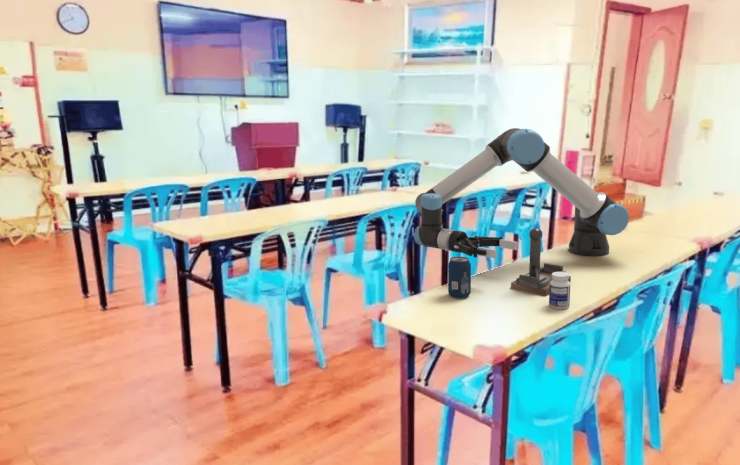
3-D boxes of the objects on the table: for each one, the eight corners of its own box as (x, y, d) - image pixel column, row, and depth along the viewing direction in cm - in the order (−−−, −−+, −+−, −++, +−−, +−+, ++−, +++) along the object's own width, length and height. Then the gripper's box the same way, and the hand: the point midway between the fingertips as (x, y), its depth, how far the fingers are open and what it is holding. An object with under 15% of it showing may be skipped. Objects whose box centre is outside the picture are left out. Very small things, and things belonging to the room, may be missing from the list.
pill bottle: (554, 301, 167) (556, 269, 165) (572, 306, 163) (574, 273, 161) (545, 306, 163) (546, 274, 161) (563, 311, 159) (565, 278, 157)
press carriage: (529, 279, 182) (531, 225, 178) (545, 282, 178) (548, 227, 174) (522, 283, 178) (524, 228, 174) (538, 286, 174) (540, 230, 171)
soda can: (454, 290, 179) (454, 254, 177) (474, 294, 175) (474, 257, 173) (444, 297, 174) (444, 260, 171) (464, 300, 170) (464, 263, 167)
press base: (535, 275, 193) (536, 261, 192) (572, 282, 184) (572, 267, 183) (509, 288, 180) (509, 273, 179) (547, 296, 171) (547, 280, 170)
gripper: (472, 244, 206) (524, 253, 192) (431, 258, 189) (486, 269, 175) (472, 224, 205) (525, 232, 191) (432, 236, 187) (487, 246, 173)
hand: (507, 250), depth 183 cm, fingers open, 13 cm apart
